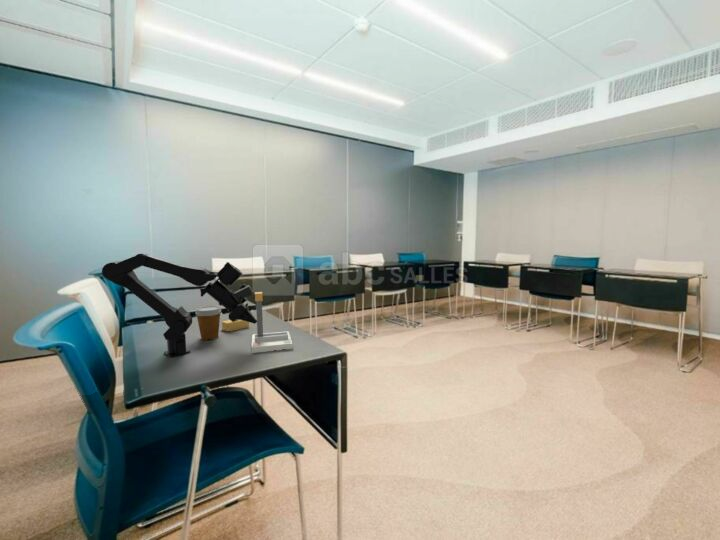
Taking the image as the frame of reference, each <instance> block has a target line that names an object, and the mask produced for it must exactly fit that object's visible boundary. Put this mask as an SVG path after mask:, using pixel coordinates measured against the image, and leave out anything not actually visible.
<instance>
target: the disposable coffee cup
mask: <svg viewBox="0 0 720 540" xmlns="http://www.w3.org/2000/svg"><path fill="white" fill-rule="evenodd" d="M221 312H222V309H221V307H220V306H217V305H213V306H212V305H211V306H210V305H207V306H201V307H198V308H196V310H195V312H194V313H195V316H196V319H197V323H198V329H199V333H200V339H201V340H203V339H204V341H209V340H208V339H211V340H215V339H218V338H219V333H220V331H219V330H220V319H221ZM214 338H215V339H214Z"/></svg>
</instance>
